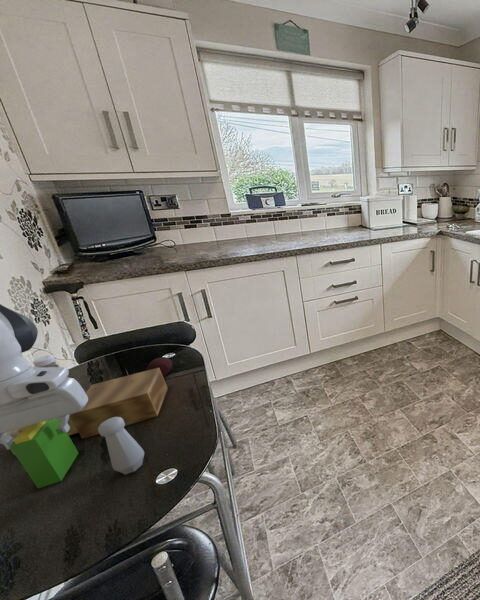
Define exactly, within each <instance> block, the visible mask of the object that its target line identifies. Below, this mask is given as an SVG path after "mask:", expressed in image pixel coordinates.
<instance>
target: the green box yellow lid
mask: <svg viewBox="0 0 480 600" xmlns="http://www.w3.org/2000/svg"><path fill="white" fill-rule="evenodd" d="M59 424H61V422H60V421H57V419H56V418H55V419H51V420H48V421H44V422H40V423H37V424H33V425H30V426H26V427H25V428H24V429H23V430H22V431H21V433H20V434H19V435H18V436H17V437H16V438H15V439H14V440H13V441H14V443H13V444H12V445H11V446H10V448H11V449H12V451H13V452H14V454H15V456H16V457H15V458H16V459H18V461H19V462H20V464H21V466H22V467H23V469H24V470H25V472H26V473H27V475H28V476H29V477H30V479H31V480H32V481H33V483H34V485H35V486H36V488H37V489H38V490H39V489H42V488H44V487H45V488H46V487H47V486H51V485H54V484H57V483H60V482H62V481H63V479H64V478H65V476H66V475H67V473H68V471H69V469H70V468H71V466H72V465H73V463H74V462H75V460H76V459H77V456H78V455H79V451H78V449H77V447H76V446H75V444H74V442H73V441H72V438H71V437H70V435H68V434H67V432H66V433H63V434H60V435H58V432H56V430H55V429H56V427H58V425H59ZM12 451H11V452H12ZM13 452H12V453H13ZM14 454H13V455H14Z"/></svg>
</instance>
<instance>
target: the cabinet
mask: <svg viewBox="0 0 480 600" xmlns="http://www.w3.org/2000/svg"><path fill="white" fill-rule="evenodd" d="M85 392H86V395H87V397H88V402H87V404H86V406H85V407H84V408H83V409H82V410H81V411H80V412H76V413H73V414H70V418H71V420H72V422H73V423H74V425H75V427H76V429H77V430H78V432H79V433H78V434H79V436H80V438H81V439H82V440H83V439H86V438H90V437H93V436H96V435H100V433H99V431H98V427H99V426H100V424H101V423H103V422H104V421H106V420H107V419H110V418H113V417H121V418H122V419H123V420H124V423H125V426H124V427H126V426H129V425H132V424H136V423H139V422H143V421H146V420H149V419H153V418H156V417H158V416H159V413H160V411H161V408H162V405H163V402H164V400H165V398H166V395H167V392H168V385H167V383H166V380H165V377H163V375H162V373H161V371H160V368H155V369H151V370H148V371H146V370H144V371H140V372H136V373H132V374H128V375H124V376H121V377H116V378H113V379H110V380H105V381H102V382H97V383H94V384H91V385H90V387H88V389H87V390H86V391H85Z"/></svg>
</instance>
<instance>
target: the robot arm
mask: <svg viewBox="0 0 480 600" xmlns="http://www.w3.org/2000/svg"><path fill="white" fill-rule="evenodd" d="M38 333H39V330H38V327H37V326H36V324H35V323H34V322H33V321H32V320H31V319H30V318H29V317H27V316H26V315H23V314H22V313H19V312H17V311H15V310H13V309H11V308H8V307H6V306H5V305H2V304H1V303H0V444H1V445H3V446H4V447H5V449H6V450H10V449H11V448H10V446H11V445H12V444H13V443H14V441H13V440H14V439H15V438H16V437H17V436H16V437H13V438H12V437H11V436H9V435H7V434H5V432H8V431H12V430H15V429H19V428H22V427H26V426H30V425H33V424H37V423H40V422H44V421H48V420H51V419H55V418H56V419H57V421H61V424H59V425H58V427H56V429H55V430H56V432H58V435H60V434H63V433H66V432H68V431H69V430H70V427H69V425H68V423H67V422H68V419H69V416H70V414H73V413H76V412H80V411H81V410H82V409H83V408H84V407H85V406H86V404H87V402H88V397H87V395H86V393H85V392H86V391H85V390H84V387H82V385H81V384H80V383H79V381H78V380H76V379H75V378H72V377H69V375H70V371H69V369H68V368H67V367H64V366H59V367H35V366H33V365H32V364H31V362H30V361H29V360H27V359H26V358H25V356H24V355H23V353H25V352H29V351H30V350H31V349H32V348H33V346H34V345H35V343H36V341H37V339H38ZM67 376H68V377H67Z"/></svg>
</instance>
